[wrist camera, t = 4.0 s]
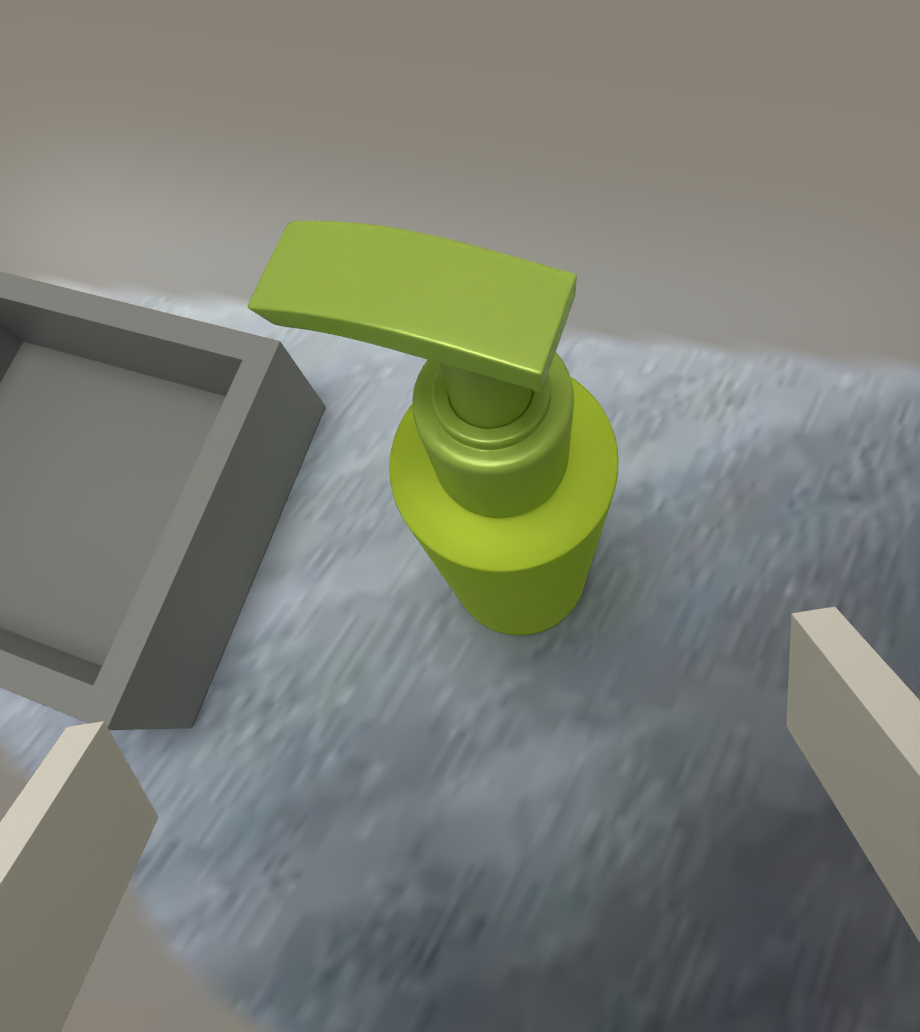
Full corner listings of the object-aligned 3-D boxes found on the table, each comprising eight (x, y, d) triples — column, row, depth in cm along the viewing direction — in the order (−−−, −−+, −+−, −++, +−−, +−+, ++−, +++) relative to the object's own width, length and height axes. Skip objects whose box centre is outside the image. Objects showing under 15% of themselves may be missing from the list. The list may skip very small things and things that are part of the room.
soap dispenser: (456, 483, 31) (321, 111, 12) (602, 527, 30) (709, 183, 11) (412, 602, 30) (180, 395, 11) (563, 654, 28) (605, 521, 9)
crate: (325, 406, 33) (280, 341, 27) (191, 727, 29) (106, 730, 23) (29, 327, 37) (-66, 255, 31) (-125, 604, 33) (-265, 580, 27)
